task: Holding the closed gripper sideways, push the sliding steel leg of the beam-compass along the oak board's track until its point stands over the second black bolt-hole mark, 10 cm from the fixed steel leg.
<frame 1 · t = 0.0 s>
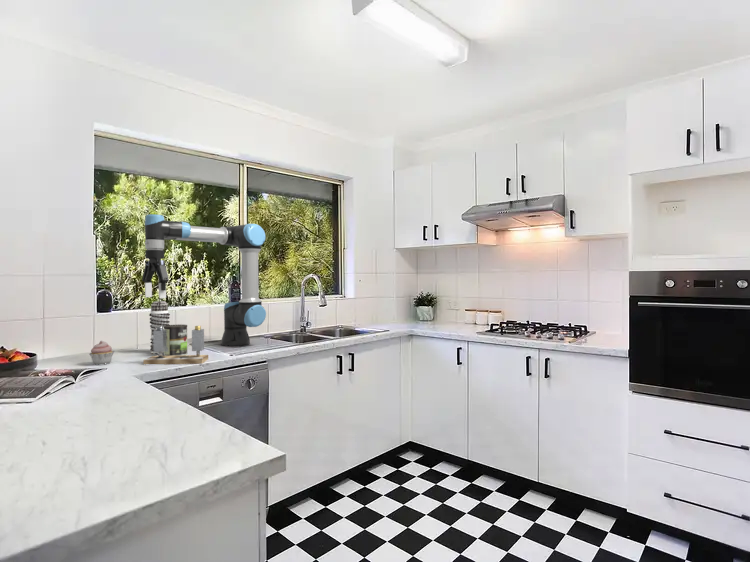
hand: (155, 297, 198), 28 cm above the countertop, tool pointing down, fingers open, 13 cm apart
decorative candle: (160, 352, 220), on the countertop
cupcake: (101, 364, 192), on the countertop
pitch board: (176, 362, 195), on the countertop
fixed leg: (160, 362, 194), resting on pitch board
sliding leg: (198, 341, 195), point 9 cm above the countertop, slide at 0.0 cm
coffee can: (175, 355, 212), on the countertop
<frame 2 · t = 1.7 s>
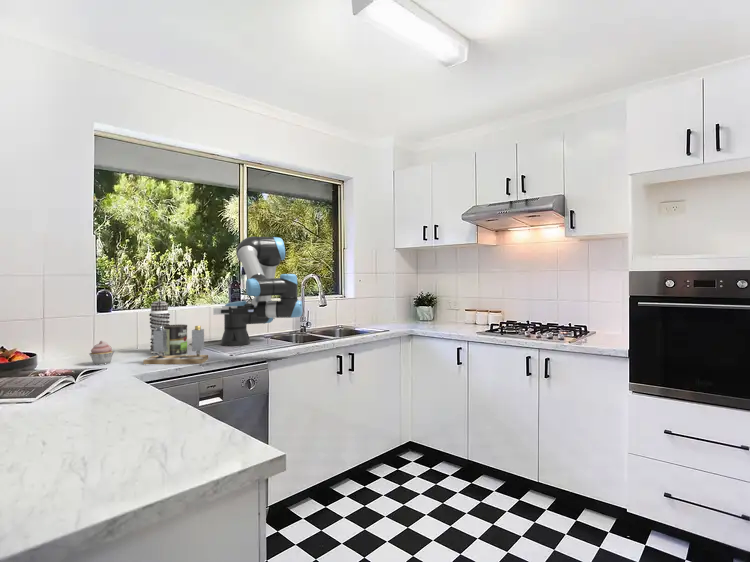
hand: (218, 310, 196), 22 cm above the countertop, tool horizontal, fingers open, 13 cm apart
nothing on the countertop moved.
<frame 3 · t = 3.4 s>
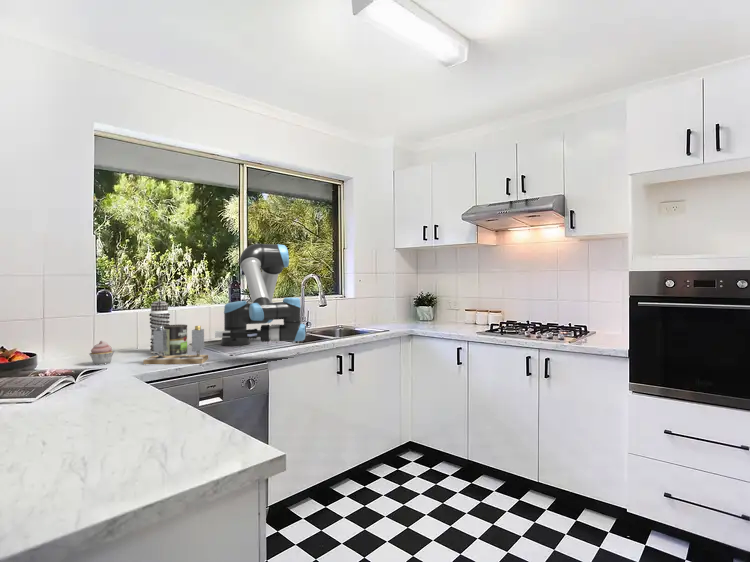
hand: (215, 334, 196), 12 cm above the countertop, tool horizontal, fingers closed
nothing on the countertop moved.
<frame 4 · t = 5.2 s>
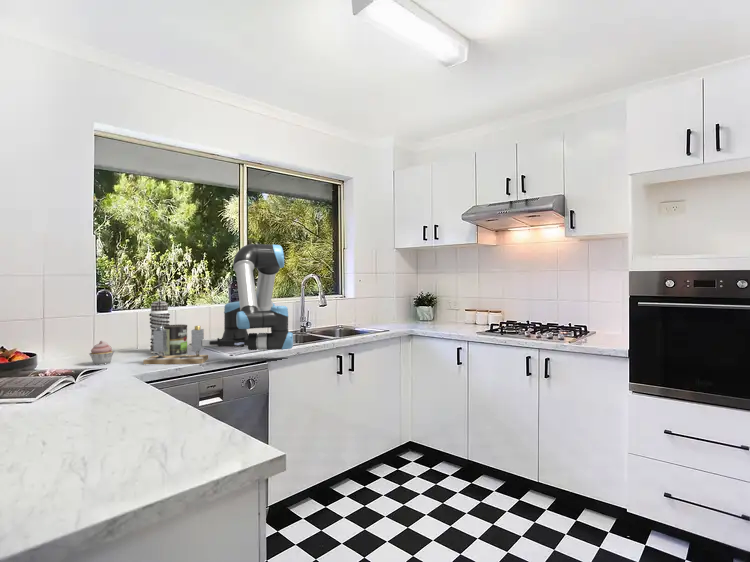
hand: (202, 342, 195), 8 cm above the countertop, tool horizontal, fingers closed
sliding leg: (197, 341, 195), point 9 cm above the countertop, slide at 0.2 cm, touching gripper
everything else where it was.
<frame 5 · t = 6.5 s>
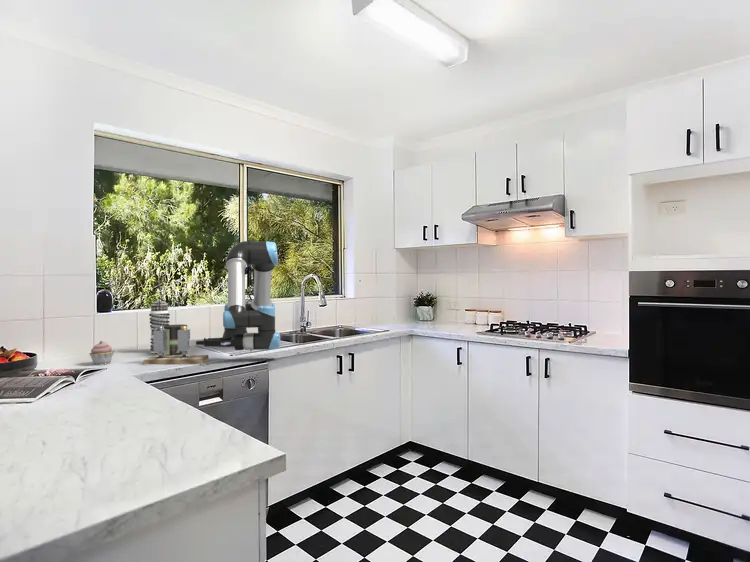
hand: (189, 342, 195), 8 cm above the countertop, tool horizontal, fingers closed
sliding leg: (184, 341, 195), point 9 cm above the countertop, slide at 5.9 cm, touching gripper
everything else where it was.
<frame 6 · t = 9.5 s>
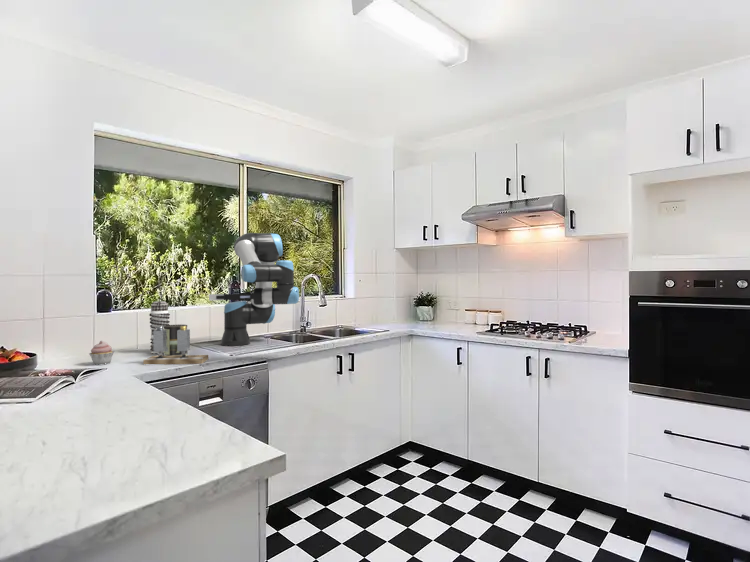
hand: (209, 297, 197), 28 cm above the countertop, tool horizontal, fingers closed
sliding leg: (183, 341, 195), point 9 cm above the countertop, slide at 6.1 cm
everything else where it was.
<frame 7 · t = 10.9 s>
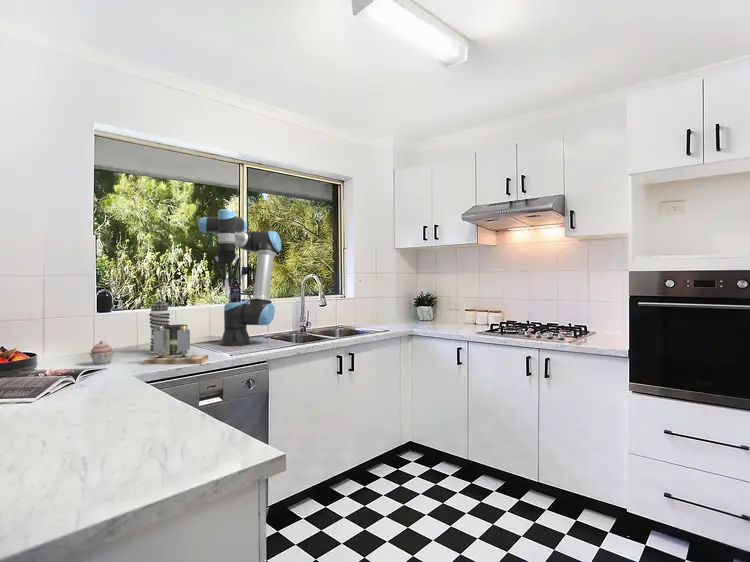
hand: (227, 293, 207), 29 cm above the countertop, tool pointing down, fingers closed
nothing on the countertop moved.
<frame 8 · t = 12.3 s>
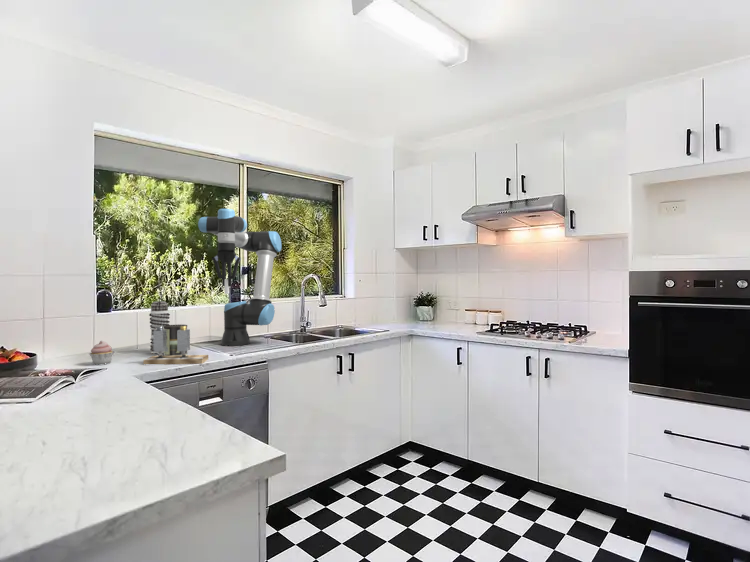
hand: (226, 293, 207), 29 cm above the countertop, tool pointing down, fingers closed
nothing on the countertop moved.
at the end: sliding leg slide at 6.1 cm; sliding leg touching nothing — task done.
